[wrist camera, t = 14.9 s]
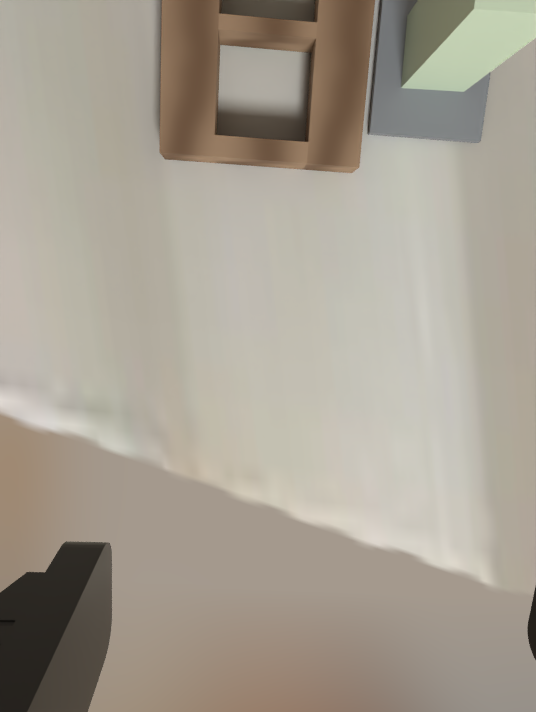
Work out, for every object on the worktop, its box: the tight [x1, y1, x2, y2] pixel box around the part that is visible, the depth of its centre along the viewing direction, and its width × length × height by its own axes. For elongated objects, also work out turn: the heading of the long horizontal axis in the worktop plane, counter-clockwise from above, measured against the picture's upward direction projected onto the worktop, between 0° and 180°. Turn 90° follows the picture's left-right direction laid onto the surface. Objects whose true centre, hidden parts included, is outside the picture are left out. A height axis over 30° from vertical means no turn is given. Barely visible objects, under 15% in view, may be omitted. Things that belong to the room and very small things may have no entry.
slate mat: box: [368, 0, 490, 143], centre depth 37 cm, size 9×12×1 cm
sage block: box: [401, 0, 536, 92], centre depth 31 cm, size 5×5×12 cm
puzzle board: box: [160, 0, 375, 173], centre depth 35 cm, size 15×18×2 cm
